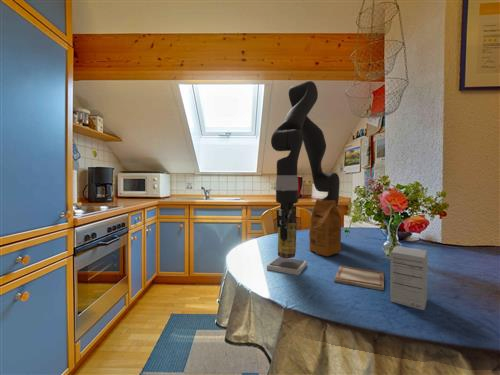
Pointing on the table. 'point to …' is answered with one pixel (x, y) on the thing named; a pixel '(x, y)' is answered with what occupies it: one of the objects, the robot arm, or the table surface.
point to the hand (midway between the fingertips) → (287, 237)
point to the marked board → (360, 277)
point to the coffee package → (325, 228)
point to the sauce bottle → (288, 238)
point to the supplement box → (409, 277)
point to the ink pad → (287, 265)
